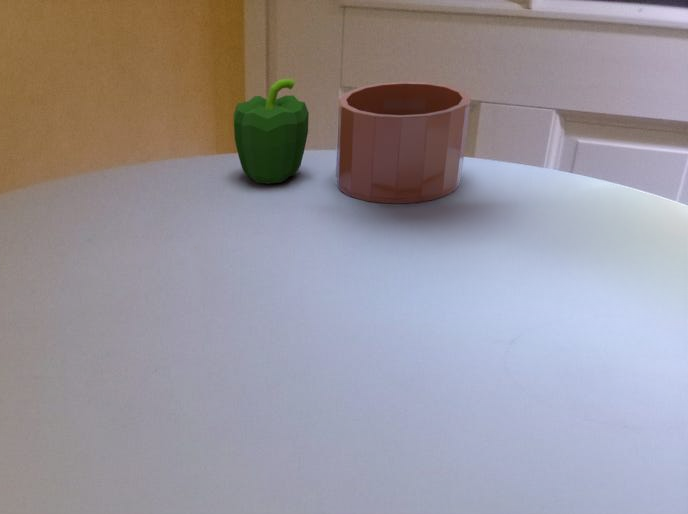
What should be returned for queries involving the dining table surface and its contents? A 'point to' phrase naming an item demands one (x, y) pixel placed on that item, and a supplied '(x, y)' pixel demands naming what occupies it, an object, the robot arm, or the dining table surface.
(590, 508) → the dining table surface
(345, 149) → the brown pot
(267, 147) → the bell pepper
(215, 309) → the dining table surface
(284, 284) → the dining table surface
